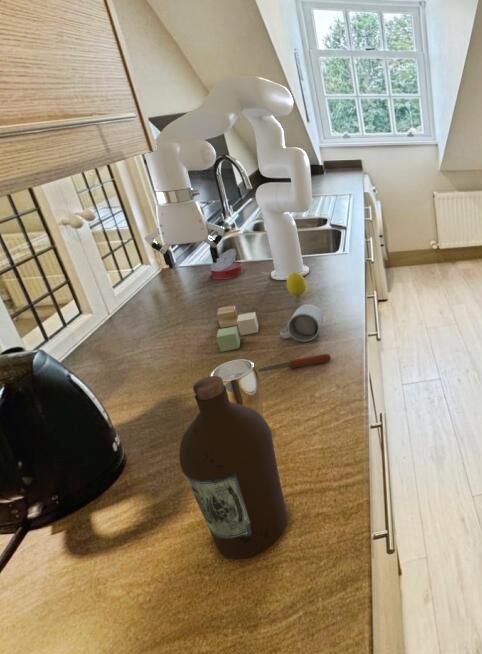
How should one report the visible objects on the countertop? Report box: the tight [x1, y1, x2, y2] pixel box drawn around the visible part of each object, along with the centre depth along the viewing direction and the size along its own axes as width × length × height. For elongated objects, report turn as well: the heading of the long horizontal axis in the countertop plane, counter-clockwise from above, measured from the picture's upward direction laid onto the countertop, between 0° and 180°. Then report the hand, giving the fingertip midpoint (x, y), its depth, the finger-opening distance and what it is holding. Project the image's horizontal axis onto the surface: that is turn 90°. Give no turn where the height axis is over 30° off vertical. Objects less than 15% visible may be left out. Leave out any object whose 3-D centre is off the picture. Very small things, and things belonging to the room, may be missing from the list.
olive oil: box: [178, 375, 288, 560], centre depth 60 cm, size 11×11×25 cm
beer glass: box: [210, 358, 265, 419], centre depth 79 cm, size 7×7×15 cm
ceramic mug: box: [279, 303, 324, 343], centre depth 116 cm, size 11×8×8 cm
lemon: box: [286, 272, 307, 298], centre depth 138 cm, size 6×6×8 cm
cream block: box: [237, 311, 259, 336], centre depth 120 cm, size 4×4×4 cm
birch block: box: [216, 305, 239, 329], centre depth 124 cm, size 4×4×4 cm
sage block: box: [216, 325, 242, 353], centre depth 112 cm, size 4×4×4 cm
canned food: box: [209, 248, 244, 280], centre depth 159 cm, size 11×10×10 cm
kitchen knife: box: [257, 353, 332, 373], centre depth 103 cm, size 16×1×2 cm, turn 108°
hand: (194, 264), depth 114 cm, fingers open, 9 cm apart
